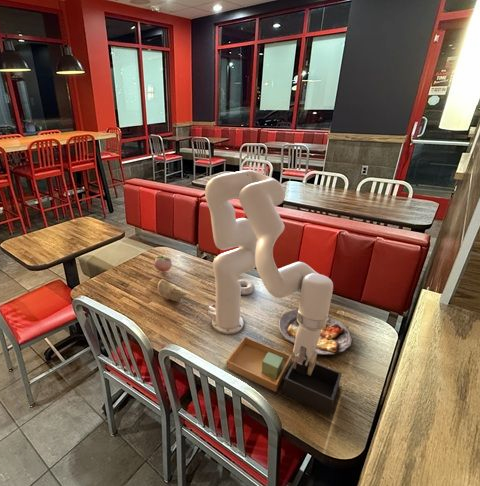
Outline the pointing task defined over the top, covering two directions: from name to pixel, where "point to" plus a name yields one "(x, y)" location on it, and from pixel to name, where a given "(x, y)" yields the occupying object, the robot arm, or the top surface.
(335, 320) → the food plate
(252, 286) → the donut
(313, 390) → the black basket
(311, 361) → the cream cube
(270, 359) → the sage cube
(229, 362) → the brown wooden tray
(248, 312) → the top surface
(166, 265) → the decorative fruit
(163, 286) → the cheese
